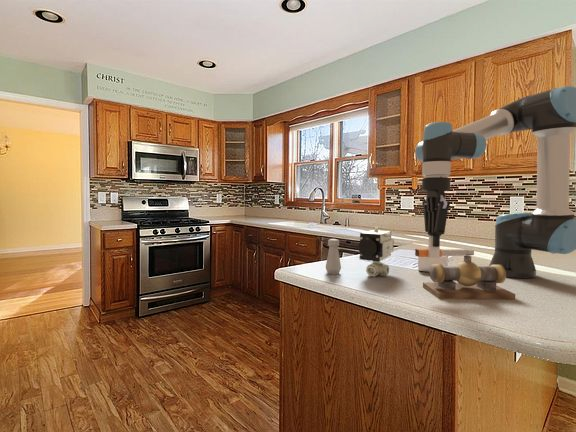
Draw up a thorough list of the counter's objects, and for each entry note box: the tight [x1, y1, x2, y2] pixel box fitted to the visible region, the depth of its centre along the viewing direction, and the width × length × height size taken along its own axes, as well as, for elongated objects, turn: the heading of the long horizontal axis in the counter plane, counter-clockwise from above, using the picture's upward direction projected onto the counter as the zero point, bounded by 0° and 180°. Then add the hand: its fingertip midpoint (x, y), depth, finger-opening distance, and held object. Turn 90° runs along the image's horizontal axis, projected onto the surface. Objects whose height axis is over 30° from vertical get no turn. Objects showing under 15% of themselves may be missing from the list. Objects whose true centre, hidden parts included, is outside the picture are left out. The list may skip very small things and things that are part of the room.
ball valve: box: [357, 227, 394, 278], centre depth 127 cm, size 18×8×18 cm, turn 147°
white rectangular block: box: [417, 256, 449, 273], centre depth 134 cm, size 12×10×8 cm
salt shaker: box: [325, 238, 342, 276], centre depth 129 cm, size 6×6×13 cm
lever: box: [414, 248, 475, 257], centre depth 103 cm, size 18×3×2 cm, turn 95°
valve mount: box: [422, 255, 516, 300], centre depth 104 cm, size 22×12×11 cm, turn 89°
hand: (433, 257), depth 101 cm, fingers closed
